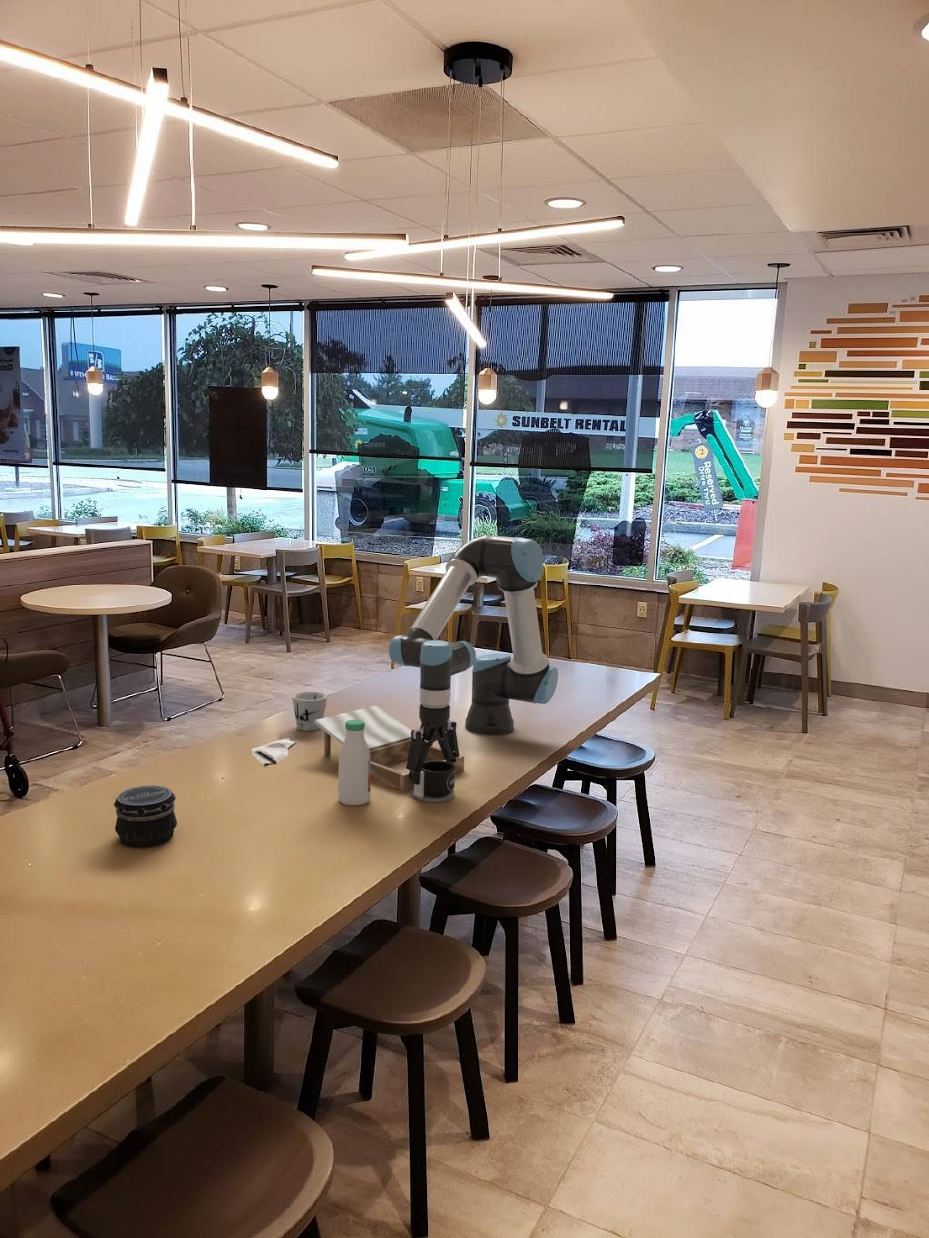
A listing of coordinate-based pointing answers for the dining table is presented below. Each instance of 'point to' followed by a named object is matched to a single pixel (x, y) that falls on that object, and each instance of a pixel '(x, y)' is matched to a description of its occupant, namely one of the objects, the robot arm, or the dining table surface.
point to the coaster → (433, 799)
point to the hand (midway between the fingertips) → (432, 791)
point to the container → (145, 816)
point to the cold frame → (380, 743)
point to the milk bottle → (354, 766)
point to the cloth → (272, 751)
